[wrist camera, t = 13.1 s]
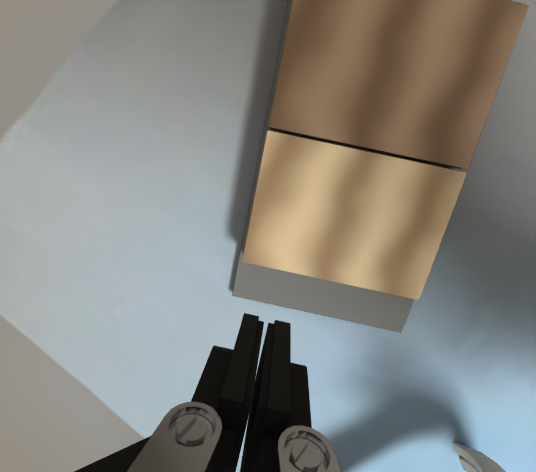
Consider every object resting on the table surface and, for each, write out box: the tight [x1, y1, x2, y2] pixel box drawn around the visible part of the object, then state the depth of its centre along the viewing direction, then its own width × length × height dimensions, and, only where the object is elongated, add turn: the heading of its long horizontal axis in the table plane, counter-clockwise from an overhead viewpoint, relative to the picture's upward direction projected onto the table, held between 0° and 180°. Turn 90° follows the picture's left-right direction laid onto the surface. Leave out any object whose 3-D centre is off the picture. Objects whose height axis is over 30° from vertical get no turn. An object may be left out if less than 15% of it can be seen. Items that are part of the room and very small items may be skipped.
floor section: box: [232, 0, 529, 332], centre depth 28 cm, size 18×30×3 cm, turn 168°
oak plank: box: [242, 130, 467, 300], centre depth 29 cm, size 17×12×2 cm
